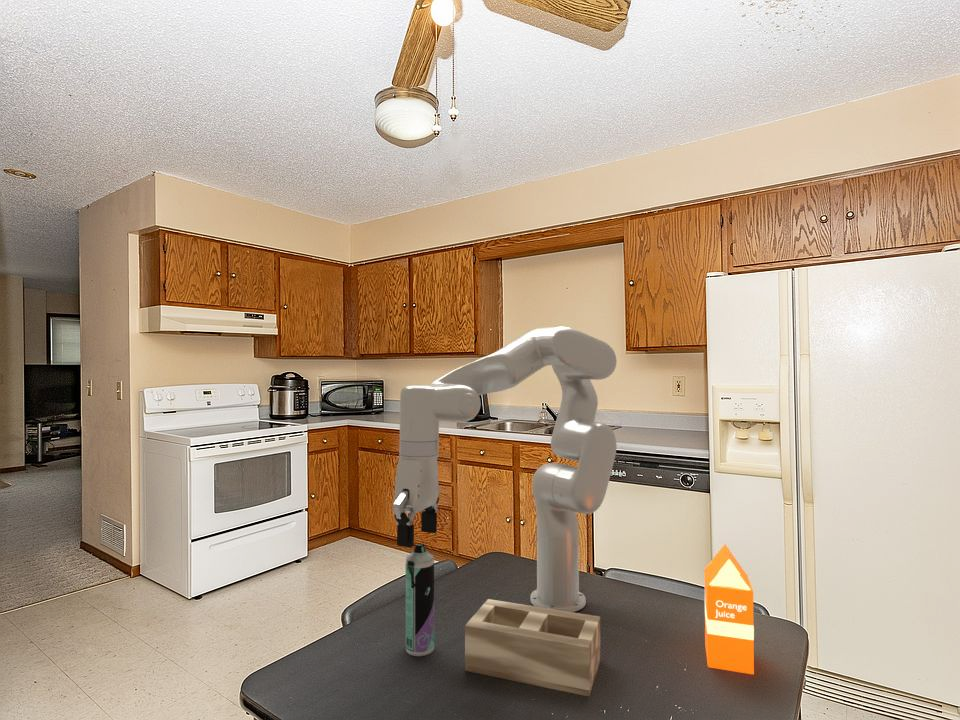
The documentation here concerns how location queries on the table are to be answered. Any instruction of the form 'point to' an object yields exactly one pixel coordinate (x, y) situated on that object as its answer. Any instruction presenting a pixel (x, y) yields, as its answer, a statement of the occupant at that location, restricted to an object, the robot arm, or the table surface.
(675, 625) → the table surface
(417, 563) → the spray can
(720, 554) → the orange juice
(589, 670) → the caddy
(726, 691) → the table surface
